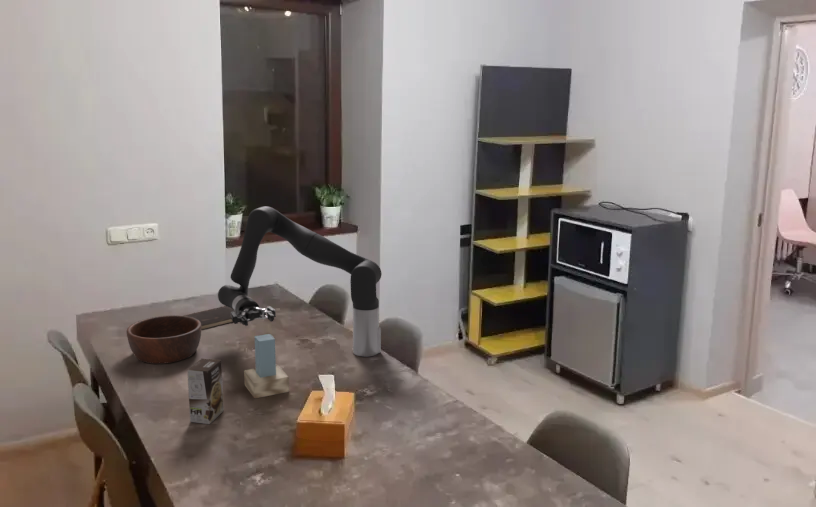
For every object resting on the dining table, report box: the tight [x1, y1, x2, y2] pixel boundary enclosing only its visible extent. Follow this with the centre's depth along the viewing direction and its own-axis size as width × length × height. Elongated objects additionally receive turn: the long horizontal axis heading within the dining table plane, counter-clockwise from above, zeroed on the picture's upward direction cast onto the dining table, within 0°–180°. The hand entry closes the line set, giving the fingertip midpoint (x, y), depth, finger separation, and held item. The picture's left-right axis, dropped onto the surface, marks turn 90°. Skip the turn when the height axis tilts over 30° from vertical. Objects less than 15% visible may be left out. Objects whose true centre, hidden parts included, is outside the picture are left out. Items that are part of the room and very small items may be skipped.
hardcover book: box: [183, 305, 234, 330], centre depth 286 cm, size 16×23×2 cm
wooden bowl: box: [126, 314, 202, 365], centre depth 249 cm, size 25×25×10 cm
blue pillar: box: [254, 333, 277, 378], centre depth 221 cm, size 5×5×12 cm
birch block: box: [243, 363, 290, 399], centre depth 223 cm, size 11×11×5 cm
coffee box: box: [187, 358, 225, 425], centre depth 203 cm, size 9×6×16 cm
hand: (259, 320), depth 232 cm, fingers open, 8 cm apart
